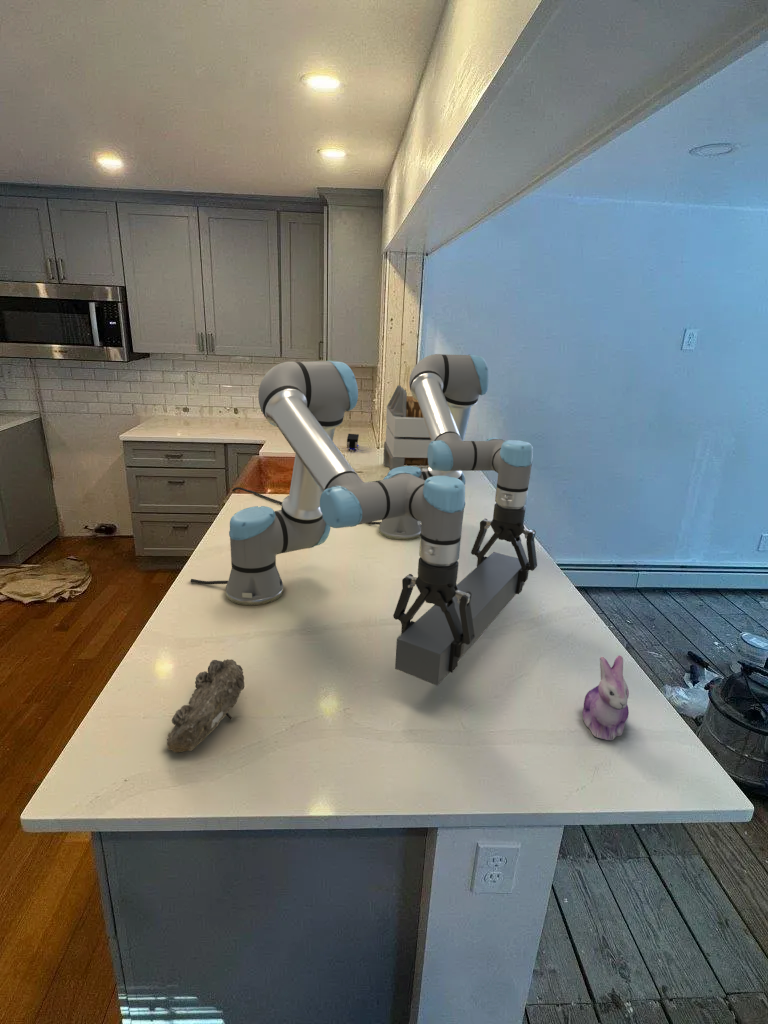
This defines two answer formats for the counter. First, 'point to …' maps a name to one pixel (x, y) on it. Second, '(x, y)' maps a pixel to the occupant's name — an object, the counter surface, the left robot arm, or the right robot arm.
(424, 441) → the transformer
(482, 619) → the wide beam
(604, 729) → the figurine
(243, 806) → the counter surface
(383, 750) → the counter surface
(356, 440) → the figurine character
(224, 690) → the fossil
